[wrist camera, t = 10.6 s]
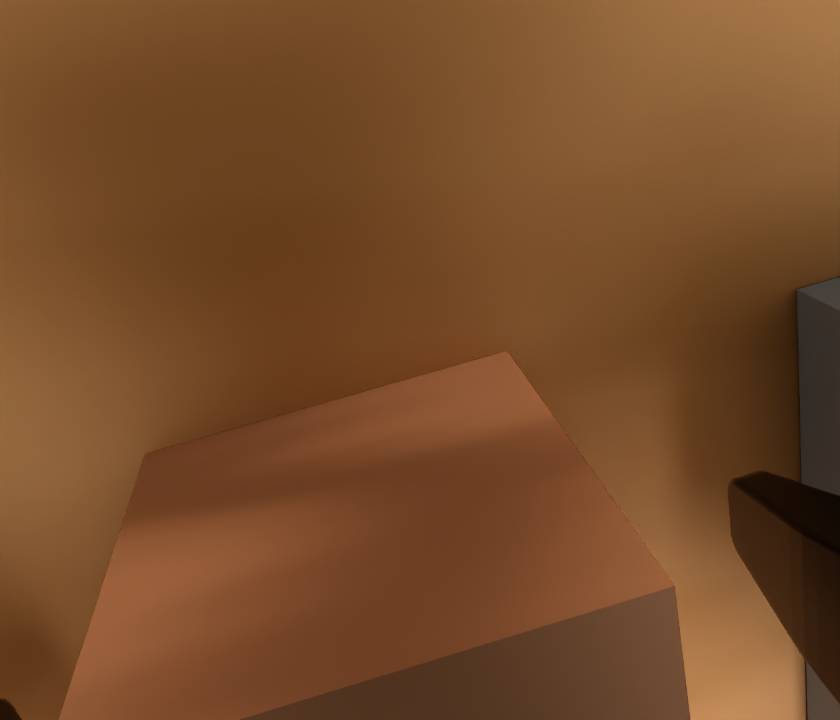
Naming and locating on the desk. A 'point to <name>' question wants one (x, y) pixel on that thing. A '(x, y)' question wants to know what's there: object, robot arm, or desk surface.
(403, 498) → the terracotta block
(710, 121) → the desk surface
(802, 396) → the board
